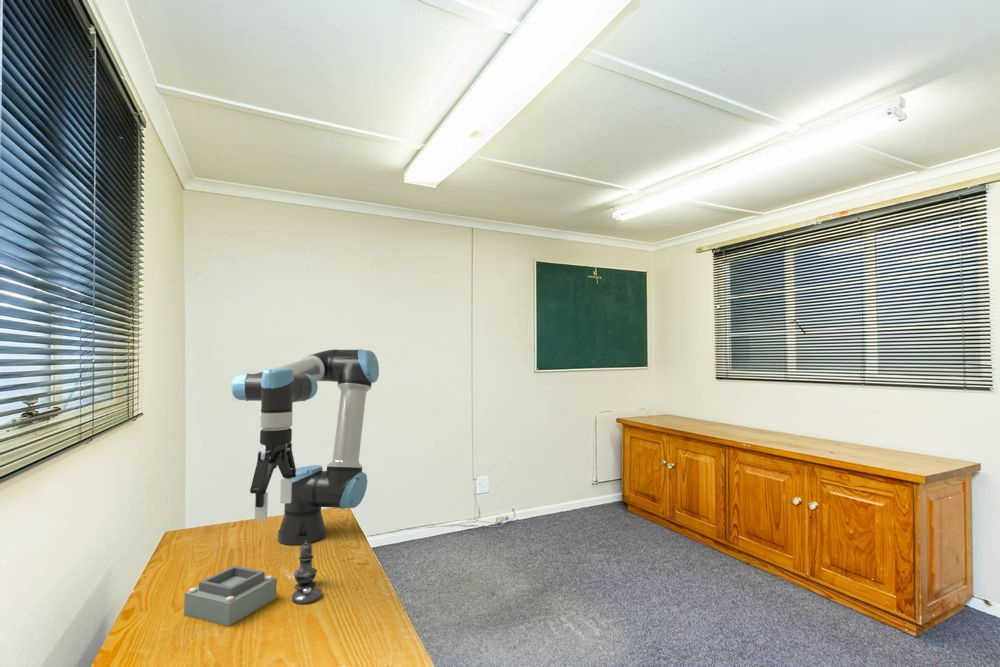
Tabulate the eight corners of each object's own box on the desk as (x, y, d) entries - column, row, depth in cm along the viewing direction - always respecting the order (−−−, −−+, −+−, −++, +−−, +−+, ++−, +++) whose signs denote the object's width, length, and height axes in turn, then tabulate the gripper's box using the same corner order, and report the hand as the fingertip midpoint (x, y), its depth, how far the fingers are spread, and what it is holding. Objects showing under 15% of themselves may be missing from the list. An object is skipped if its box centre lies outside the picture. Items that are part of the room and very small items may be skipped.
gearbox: (227, 587, 130) (228, 560, 130) (276, 598, 124) (277, 569, 125) (176, 612, 117) (177, 582, 117) (228, 626, 111) (229, 594, 111)
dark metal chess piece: (308, 592, 128) (309, 545, 128) (288, 589, 129) (289, 543, 129) (321, 582, 133) (322, 537, 134) (301, 579, 134) (303, 535, 135)
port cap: (305, 589, 129) (305, 580, 129) (327, 593, 127) (327, 585, 127) (285, 601, 123) (285, 592, 123) (308, 606, 120) (308, 597, 120)
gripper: (283, 421, 140) (281, 496, 139) (235, 435, 115) (232, 527, 114) (309, 421, 140) (307, 496, 139) (267, 436, 115) (264, 528, 114)
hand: (274, 511), depth 127 cm, fingers open, 13 cm apart
